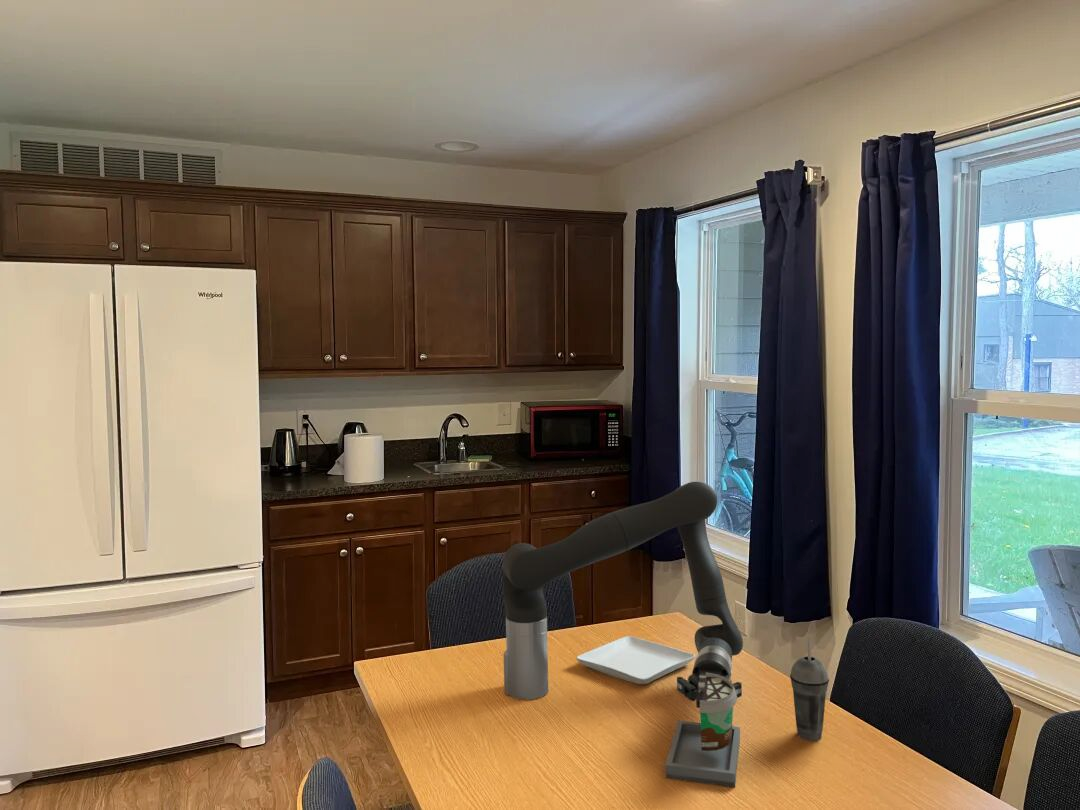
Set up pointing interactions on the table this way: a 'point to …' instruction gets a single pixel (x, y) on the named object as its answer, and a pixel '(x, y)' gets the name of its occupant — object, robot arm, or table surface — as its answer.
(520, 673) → the robot arm
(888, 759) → the table surface
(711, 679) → the food container
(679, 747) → the tray
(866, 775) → the table surface
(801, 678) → the beverage cup
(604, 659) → the salad plate
